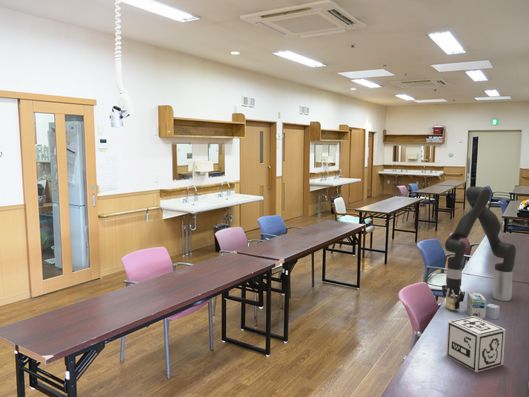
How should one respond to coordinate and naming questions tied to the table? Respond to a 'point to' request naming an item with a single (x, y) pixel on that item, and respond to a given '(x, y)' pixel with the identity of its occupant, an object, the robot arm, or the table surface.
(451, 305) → the maple block
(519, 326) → the table surface
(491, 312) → the grey-blue block
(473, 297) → the light bulb box
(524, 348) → the table surface
